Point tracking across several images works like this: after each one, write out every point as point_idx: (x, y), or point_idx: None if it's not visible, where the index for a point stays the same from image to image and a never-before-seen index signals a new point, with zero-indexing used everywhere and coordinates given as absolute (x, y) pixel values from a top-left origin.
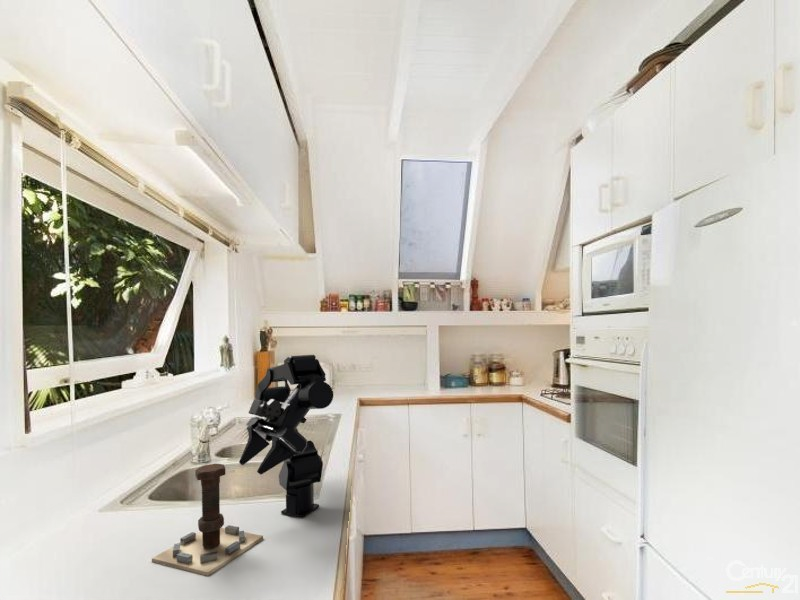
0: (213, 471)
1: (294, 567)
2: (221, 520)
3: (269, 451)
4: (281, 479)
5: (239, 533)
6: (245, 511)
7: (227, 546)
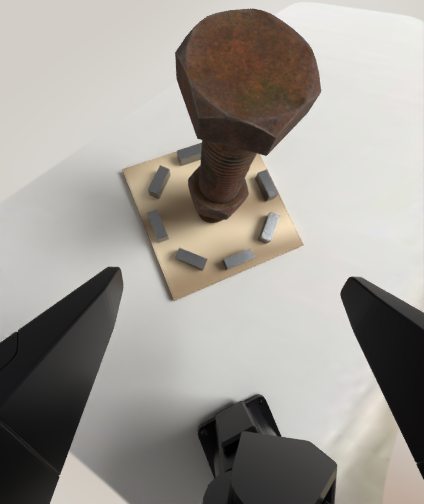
0: (183, 52)
1: (15, 288)
2: (195, 201)
3: (14, 370)
4: (299, 454)
5: (197, 256)
6: (338, 336)
7: (187, 229)
